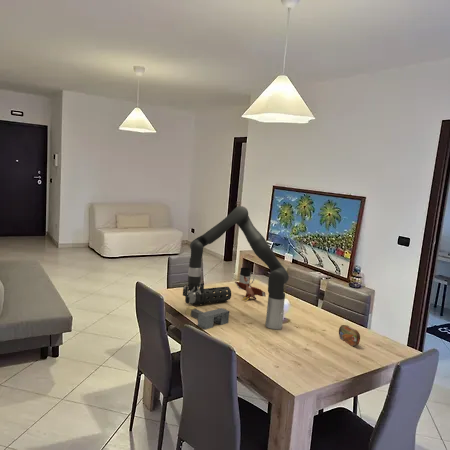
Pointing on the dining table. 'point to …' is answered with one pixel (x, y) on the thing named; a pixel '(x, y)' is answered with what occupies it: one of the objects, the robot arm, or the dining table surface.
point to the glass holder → (245, 275)
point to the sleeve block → (213, 318)
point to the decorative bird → (250, 290)
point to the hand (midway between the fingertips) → (192, 301)
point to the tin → (349, 335)
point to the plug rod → (192, 311)
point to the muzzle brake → (211, 295)
